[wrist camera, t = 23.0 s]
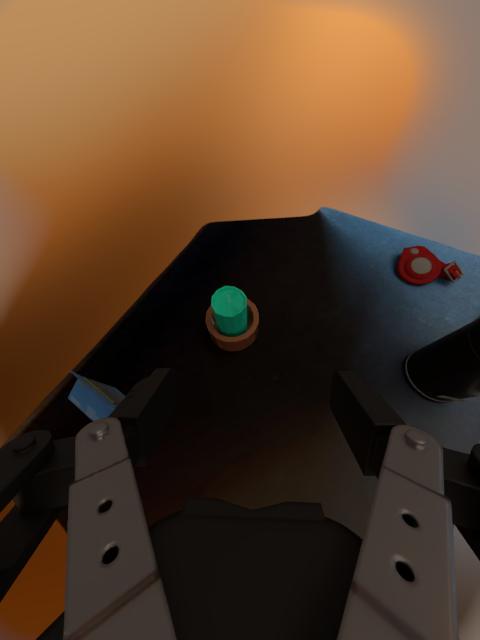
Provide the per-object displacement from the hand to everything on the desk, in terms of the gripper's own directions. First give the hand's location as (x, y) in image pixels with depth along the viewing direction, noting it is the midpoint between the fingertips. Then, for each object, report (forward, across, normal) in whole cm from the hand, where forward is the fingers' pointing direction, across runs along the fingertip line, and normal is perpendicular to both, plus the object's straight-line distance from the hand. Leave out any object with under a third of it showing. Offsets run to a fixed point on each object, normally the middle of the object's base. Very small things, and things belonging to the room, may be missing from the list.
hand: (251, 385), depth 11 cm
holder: (+34, +4, +9) cm, 36 cm away
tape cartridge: (+23, +23, +21) cm, 38 cm away
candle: (+34, +4, +9) cm, 35 cm away
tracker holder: (+44, -39, -1) cm, 59 cm away
